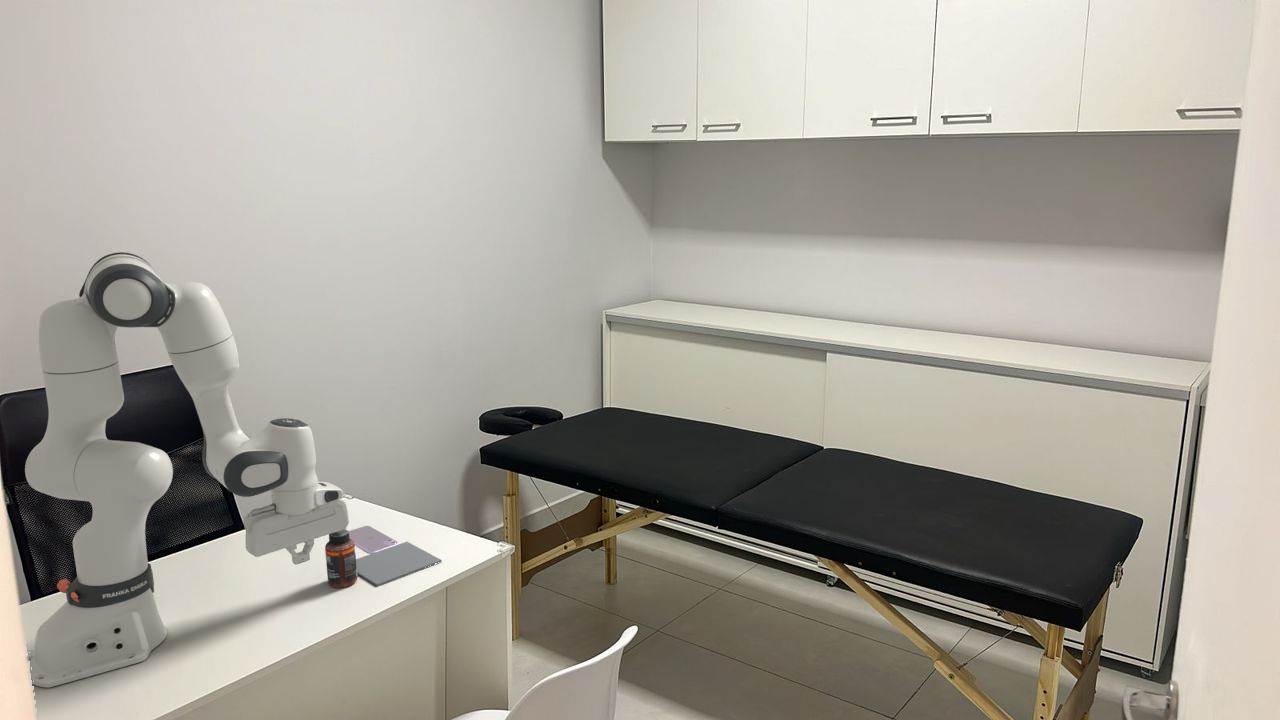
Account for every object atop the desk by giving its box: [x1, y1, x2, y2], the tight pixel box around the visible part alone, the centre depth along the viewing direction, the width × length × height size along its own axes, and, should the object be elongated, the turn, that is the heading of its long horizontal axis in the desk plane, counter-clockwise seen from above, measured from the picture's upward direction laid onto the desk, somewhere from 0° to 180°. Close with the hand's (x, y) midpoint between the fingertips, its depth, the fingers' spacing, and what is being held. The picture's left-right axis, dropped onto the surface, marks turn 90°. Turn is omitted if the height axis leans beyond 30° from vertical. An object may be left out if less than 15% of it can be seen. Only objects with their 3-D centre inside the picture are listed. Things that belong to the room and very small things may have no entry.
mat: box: [356, 541, 443, 587], centre depth 195 cm, size 16×14×1 cm
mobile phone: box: [348, 525, 400, 555], centre depth 207 cm, size 8×1×15 cm
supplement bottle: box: [324, 528, 358, 589], centre depth 185 cm, size 6×6×11 cm
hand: (301, 561), depth 178 cm, fingers closed
